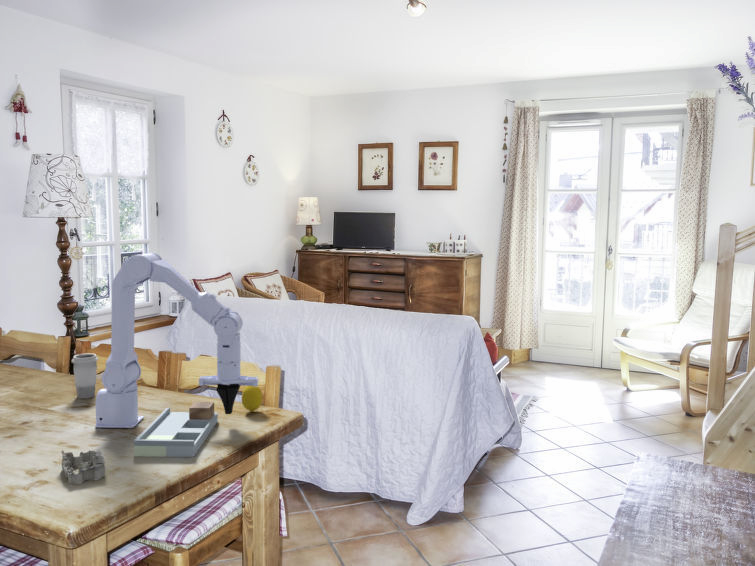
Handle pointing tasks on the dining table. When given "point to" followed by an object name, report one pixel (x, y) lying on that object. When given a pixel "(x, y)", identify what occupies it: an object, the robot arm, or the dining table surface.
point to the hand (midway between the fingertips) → (228, 412)
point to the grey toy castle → (83, 466)
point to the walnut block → (201, 411)
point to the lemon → (252, 398)
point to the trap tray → (173, 435)
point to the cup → (85, 374)
